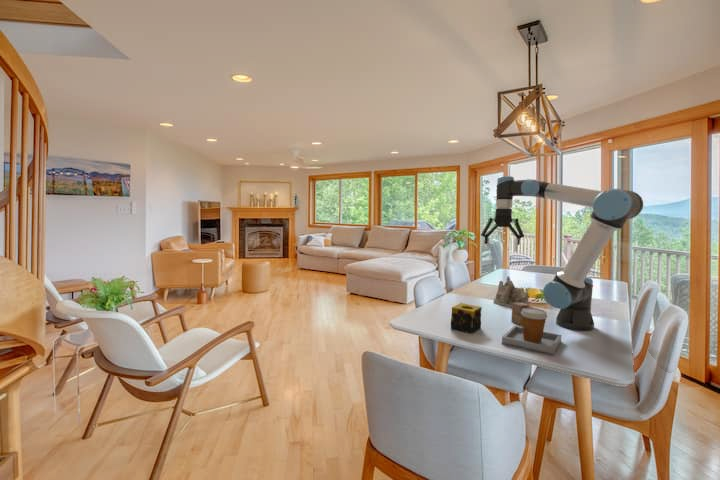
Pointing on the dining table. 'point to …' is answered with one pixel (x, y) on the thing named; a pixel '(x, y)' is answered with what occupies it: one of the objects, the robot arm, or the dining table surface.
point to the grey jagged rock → (510, 294)
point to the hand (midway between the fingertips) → (501, 251)
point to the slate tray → (517, 340)
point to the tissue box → (466, 318)
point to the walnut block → (518, 312)
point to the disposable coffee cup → (533, 324)
